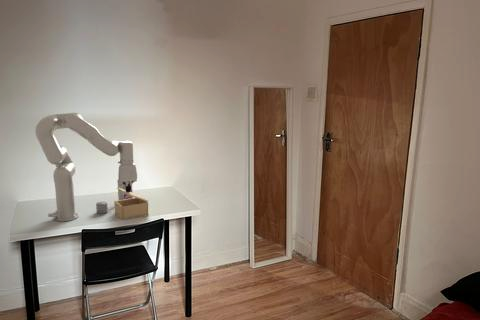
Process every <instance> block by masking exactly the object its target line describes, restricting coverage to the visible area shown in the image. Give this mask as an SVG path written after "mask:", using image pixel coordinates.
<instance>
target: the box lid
mask: <svg viewBox="0 0 480 320" xmlns="http://www.w3.org/2000/svg"><path fill="white" fill-rule="evenodd" d="M116 189H117V191H118V190H120V191H121V192H123V193H124V194H126V195H129V196H132V197H133V198H138V199H141V200H144V201H146V202H148V203H149V200H148V199H146V198H145V197H143V196H142V195H140V194H138V193H135V192H133V191H132V192H129V193H128V192H126V190H124V189H121V188H118V187H117V188H116Z"/></svg>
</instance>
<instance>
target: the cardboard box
mask: <svg viewBox="0 0 480 320" xmlns="http://www.w3.org/2000/svg"><path fill="white" fill-rule="evenodd" d="M114 214H115V215H116V216H118V217H119V218H120V219H121V220H122V221H123V220H129V219H133V218H139V217H144V216H148V215H149V201H148V202H146V201H144V200H141V199H138V198H135V197H133V198H131V199H125V200H119V199H118V200H114ZM138 216H139V217H138Z"/></svg>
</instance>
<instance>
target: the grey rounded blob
mask: <svg viewBox="0 0 480 320" xmlns="http://www.w3.org/2000/svg"><path fill="white" fill-rule="evenodd" d="M95 205H96V214H97V215H106V214H108V211H109V210H108V202H107V201H97V202H96V204H95Z"/></svg>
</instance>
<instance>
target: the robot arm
mask: <svg viewBox="0 0 480 320" xmlns="http://www.w3.org/2000/svg"><path fill="white" fill-rule="evenodd" d="M62 129H69V130H70V131H73V132H74V133H75V134H77V135H79V136H80V137H81V138H83V139H85V140H86V141H87V142H88V143H90V144H91V145H92V146H93V147H94V148H96V149H97V150H99V151H100V152H101V153H103V154H105V155H106V156H108V157H114V156H116V155H118V154H119V160H118V161H117V164H119V166H118V173H117V175H118V179H119V183H120V184H124V185H125V190H126V192H128V193H129V192H131V185H132V186H133V184H134V183H135V182H137V181H138V180H137V179H138V172H137V166H136V164H135V163H134V145H133V142H132V141H130V140H126V141H125V140H124V141H121V140H120V141H119V140H118V141H117V140H109V139H107V138H106V137H104V136H103V135H102V134H101V133H100V131H99V130H98V129H97V127H95V126H94V125H92V124H91V123H89V122H87V121H86V120H85V119H83V117H82V115H81V114H79V113H77V112H69V113H59V114H51V115H46V116H45V117H43V118H42V119H41V120H39V121H38V123H37V124H36V126H35V130H34V131H35V136H36V139H37V140H38V143H39V145H40V147H41V149H42V152H43V154H44V156H45V157H46V160H47V162H48V163H50V164H51V165H55V167H56V168H54V169H55V170H54V171H53V175H52V178H53V182H54V188H55V201H56V210H55V211H54V212H51V213H48V214H47V217H48V218H54V220H55V221H57V222H69V221H73V220H76V219H77V218H79V214H78V213H77V212H76V206H75V203H76V202H75V191H74V183H73V176H74V175H75V173H76V167H75V164H74V162H73V160H72V158H71V156H70V154H69V152H68V150H67V148H65V146H62V145H59V143H58V141H57V139H56V137H55V135H54V132H55V131H56V130H62ZM127 182H128V183H127Z"/></svg>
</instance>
